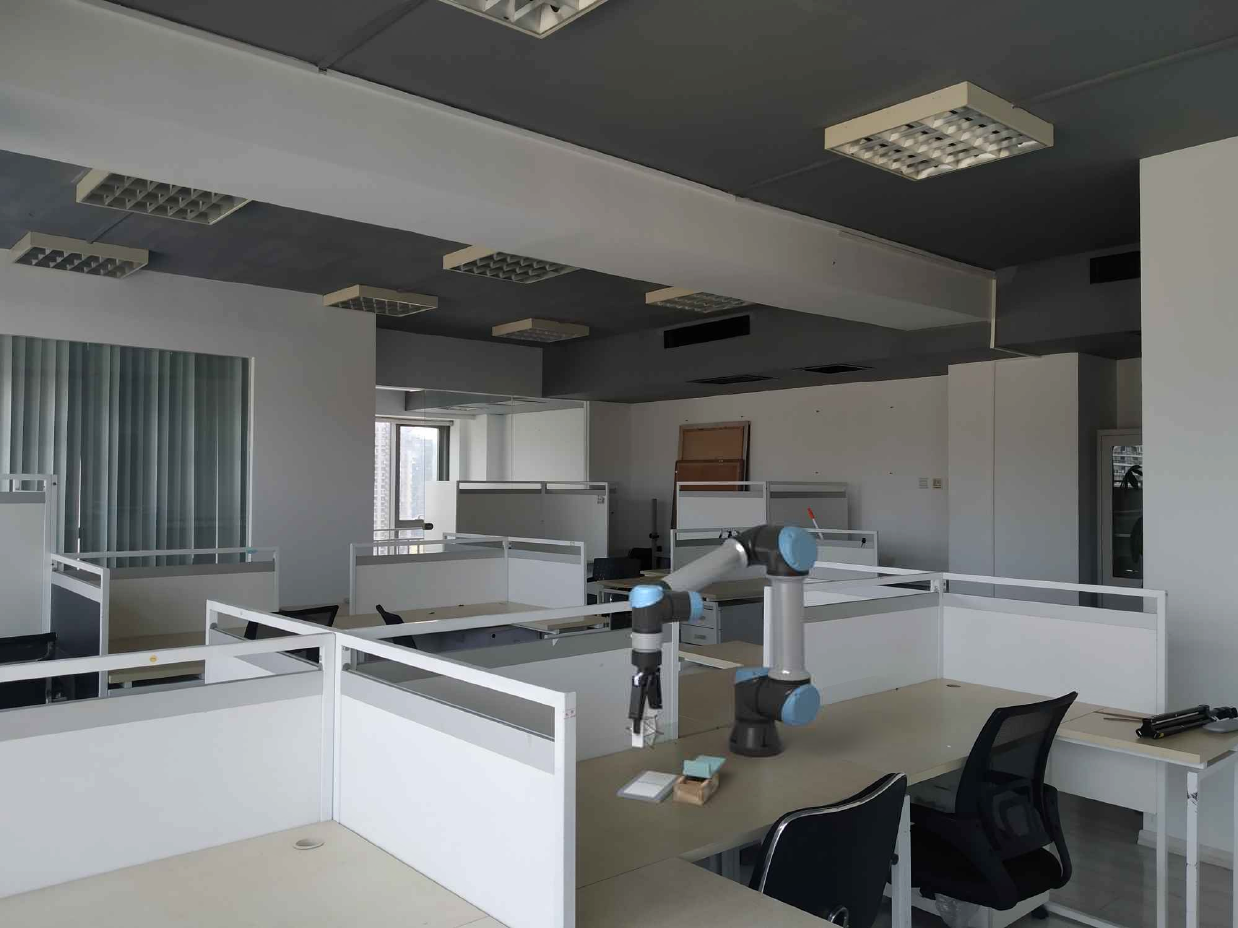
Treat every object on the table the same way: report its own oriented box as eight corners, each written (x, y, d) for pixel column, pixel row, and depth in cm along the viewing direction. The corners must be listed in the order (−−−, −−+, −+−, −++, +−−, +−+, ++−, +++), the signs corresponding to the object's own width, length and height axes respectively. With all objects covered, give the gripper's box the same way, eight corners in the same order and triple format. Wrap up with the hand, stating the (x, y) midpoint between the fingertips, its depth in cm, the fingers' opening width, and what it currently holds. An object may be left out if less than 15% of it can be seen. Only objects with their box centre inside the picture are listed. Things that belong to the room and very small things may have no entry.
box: (691, 782, 228) (692, 766, 228) (718, 786, 225) (718, 770, 225) (673, 800, 215) (673, 783, 215) (701, 804, 212) (701, 787, 213)
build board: (643, 773, 234) (643, 769, 234) (683, 779, 230) (683, 775, 230) (617, 796, 218) (617, 791, 218) (659, 802, 213) (659, 797, 213)
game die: (645, 765, 218) (638, 738, 212) (623, 744, 224) (616, 718, 218) (673, 742, 221) (666, 716, 216) (651, 723, 227) (644, 697, 222)
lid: (699, 758, 234) (700, 745, 234) (725, 761, 232) (726, 749, 232) (682, 774, 221) (683, 761, 221) (710, 778, 219) (710, 764, 219)
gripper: (648, 640, 232) (647, 727, 231) (615, 655, 211) (613, 750, 211) (675, 642, 229) (674, 731, 229) (644, 658, 209) (643, 755, 208)
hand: (645, 740), depth 220 cm, fingers closed on game die, 9 cm apart
